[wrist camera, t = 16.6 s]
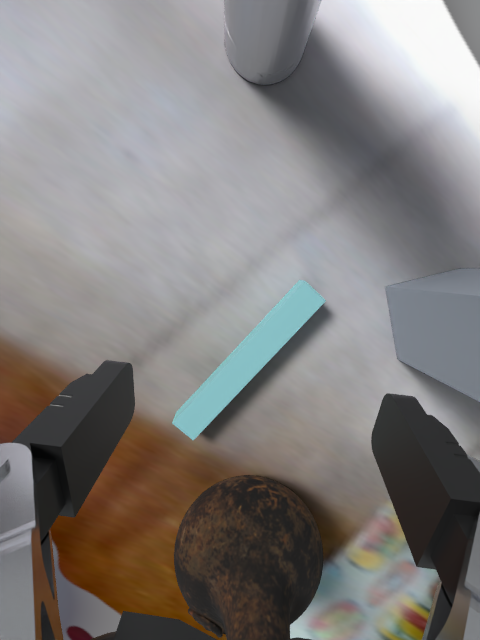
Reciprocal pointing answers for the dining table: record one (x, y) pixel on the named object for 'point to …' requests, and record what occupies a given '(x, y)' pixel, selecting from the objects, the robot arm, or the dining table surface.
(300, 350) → the dining table surface
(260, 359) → the batten
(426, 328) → the tower
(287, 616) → the glass bottle
